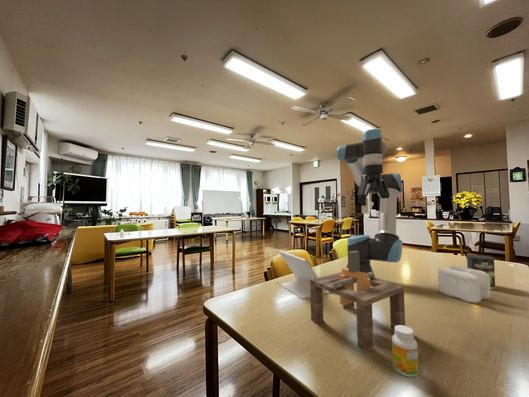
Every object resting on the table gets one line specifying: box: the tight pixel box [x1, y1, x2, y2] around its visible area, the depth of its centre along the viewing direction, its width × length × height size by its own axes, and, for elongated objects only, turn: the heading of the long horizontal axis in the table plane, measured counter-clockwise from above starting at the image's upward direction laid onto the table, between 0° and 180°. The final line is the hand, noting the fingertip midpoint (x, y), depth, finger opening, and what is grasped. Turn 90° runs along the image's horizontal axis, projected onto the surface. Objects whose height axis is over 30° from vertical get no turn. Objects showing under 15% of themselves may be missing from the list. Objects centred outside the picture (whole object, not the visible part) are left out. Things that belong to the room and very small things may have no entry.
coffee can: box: [465, 253, 497, 290], centre depth 112 cm, size 10×10×14 cm
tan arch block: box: [339, 251, 372, 306], centre depth 78 cm, size 8×5×18 cm, turn 32°
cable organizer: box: [437, 265, 492, 304], centre depth 98 cm, size 15×11×12 cm
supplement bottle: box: [391, 325, 419, 378], centre depth 56 cm, size 5×5×10 cm
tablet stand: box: [278, 250, 331, 300], centre depth 115 cm, size 18×25×17 cm
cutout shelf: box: [310, 271, 406, 353], centre depth 77 cm, size 22×20×16 cm
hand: (374, 213), depth 100 cm, fingers open, 13 cm apart
